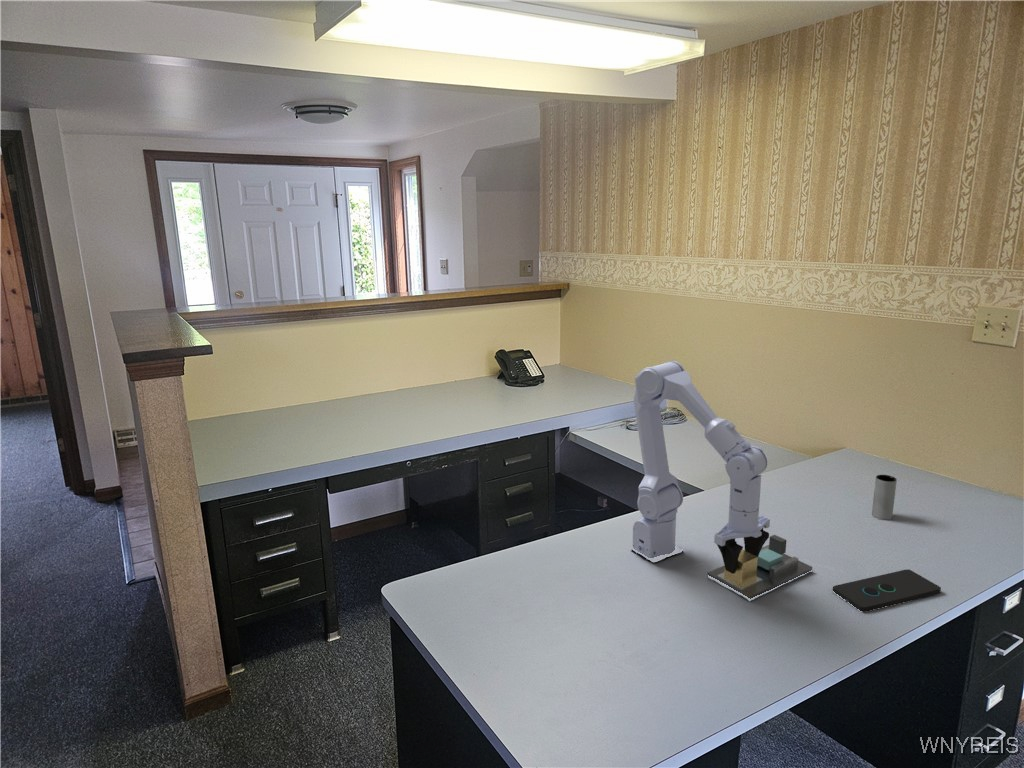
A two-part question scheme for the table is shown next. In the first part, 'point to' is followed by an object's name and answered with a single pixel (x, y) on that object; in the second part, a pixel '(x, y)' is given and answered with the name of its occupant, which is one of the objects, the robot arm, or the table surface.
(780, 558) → the teal and grey block
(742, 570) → the block
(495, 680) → the table surface
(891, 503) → the grey cylinder
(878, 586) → the smart home device
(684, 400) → the robot arm
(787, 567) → the press bed
